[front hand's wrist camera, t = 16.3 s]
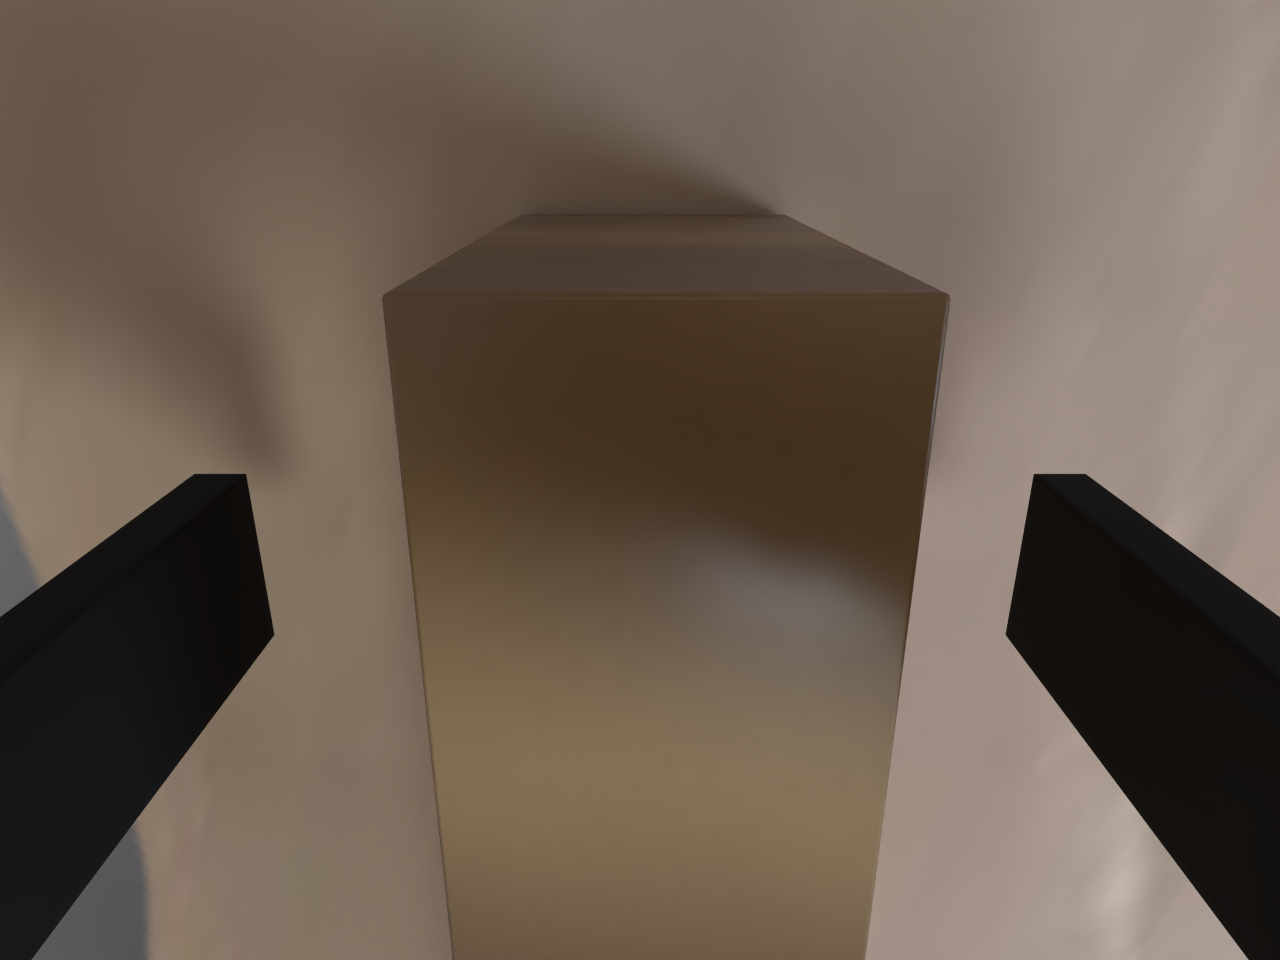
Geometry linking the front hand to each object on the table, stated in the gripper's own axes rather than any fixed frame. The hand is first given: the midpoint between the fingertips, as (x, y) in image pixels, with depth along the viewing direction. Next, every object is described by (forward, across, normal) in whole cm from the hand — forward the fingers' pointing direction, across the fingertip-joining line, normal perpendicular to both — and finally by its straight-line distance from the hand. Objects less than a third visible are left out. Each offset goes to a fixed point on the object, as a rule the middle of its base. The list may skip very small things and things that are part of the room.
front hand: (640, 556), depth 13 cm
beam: (+3, 0, -30) cm, 31 cm away
